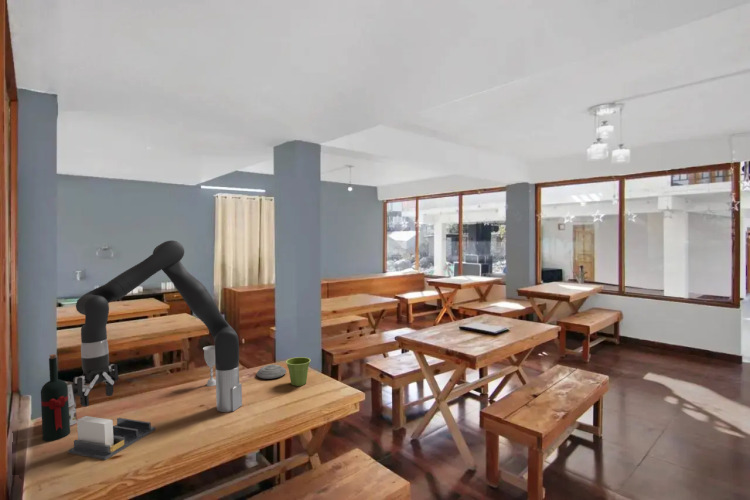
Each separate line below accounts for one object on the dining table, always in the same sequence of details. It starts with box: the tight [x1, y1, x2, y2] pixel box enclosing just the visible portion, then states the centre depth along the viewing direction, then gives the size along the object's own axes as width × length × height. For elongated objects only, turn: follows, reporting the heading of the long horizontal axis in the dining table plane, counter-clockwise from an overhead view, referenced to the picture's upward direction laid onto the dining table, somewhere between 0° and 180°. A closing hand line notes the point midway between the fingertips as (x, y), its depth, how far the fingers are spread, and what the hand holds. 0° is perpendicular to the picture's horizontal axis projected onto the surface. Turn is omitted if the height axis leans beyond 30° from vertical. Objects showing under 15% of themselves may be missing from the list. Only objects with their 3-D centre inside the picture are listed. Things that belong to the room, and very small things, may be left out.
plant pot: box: [285, 356, 312, 387], centre depth 189 cm, size 12×12×11 cm
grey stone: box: [255, 364, 287, 380], centre depth 201 cm, size 15×15×6 cm
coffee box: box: [41, 380, 78, 427], centre depth 150 cm, size 9×6×16 cm
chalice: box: [202, 345, 216, 387], centre depth 189 cm, size 7×7×18 cm
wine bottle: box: [40, 353, 71, 442], centre depth 141 cm, size 8×10×30 cm
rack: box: [68, 417, 156, 461], centre depth 139 cm, size 16×20×4 cm
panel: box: [76, 415, 114, 448], centre depth 133 cm, size 12×3×9 cm, turn 74°
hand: (97, 400), depth 133 cm, fingers open, 8 cm apart
